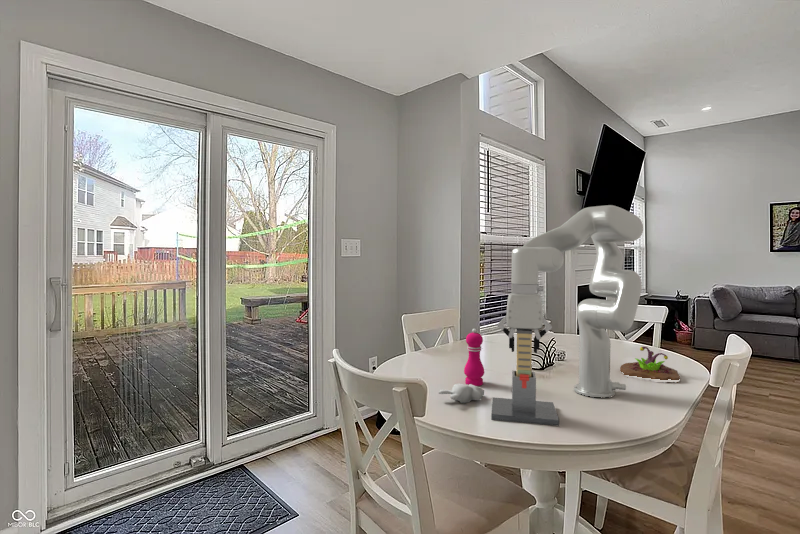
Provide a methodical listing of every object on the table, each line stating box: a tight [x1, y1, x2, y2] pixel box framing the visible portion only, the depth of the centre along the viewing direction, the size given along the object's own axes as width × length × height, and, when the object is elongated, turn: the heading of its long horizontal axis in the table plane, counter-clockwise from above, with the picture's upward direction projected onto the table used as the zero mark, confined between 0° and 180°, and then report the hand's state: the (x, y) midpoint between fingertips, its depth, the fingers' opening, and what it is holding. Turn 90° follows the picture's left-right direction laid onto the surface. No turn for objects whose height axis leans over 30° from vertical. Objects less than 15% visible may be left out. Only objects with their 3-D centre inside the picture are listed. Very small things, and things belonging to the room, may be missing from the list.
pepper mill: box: [463, 328, 485, 387], centre depth 151 cm, size 7×7×20 cm
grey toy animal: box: [438, 383, 485, 404], centre depth 135 cm, size 10×5×15 cm
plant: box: [619, 346, 681, 380], centre depth 163 cm, size 20×20×11 cm
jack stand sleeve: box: [490, 370, 560, 427], centre depth 124 cm, size 18×14×12 cm
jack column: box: [515, 329, 533, 377], centre depth 123 cm, size 4×4×17 cm
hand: (524, 350), depth 123 cm, fingers open, 5 cm apart
